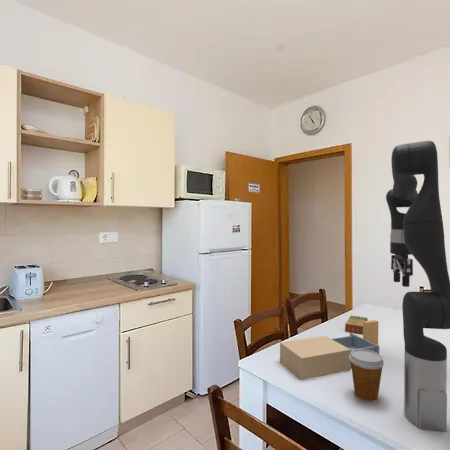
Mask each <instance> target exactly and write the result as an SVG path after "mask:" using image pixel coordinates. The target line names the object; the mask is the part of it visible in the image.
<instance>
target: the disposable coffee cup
mask: <svg viewBox="0 0 450 450" xmlns="http://www.w3.org/2000/svg"><path fill="white" fill-rule="evenodd" d="M349 359H350V361H351V373H352V383H353V390H354V395H355V396H356V397H357V398H358V399H361V400H362V401H367V402H374V401H377V400H378V399H379V392H380V385H381V379H382V372H383V368H384V365H385V361H384V359H383V356H382V355H381V354H380V353H379V354H378V353H376V352H373V351H370V350H364V349H357V350H353V351H351V354H350V355H349Z"/></svg>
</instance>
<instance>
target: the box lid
mask: <svg viewBox="0 0 450 450" xmlns="http://www.w3.org/2000/svg"><path fill="white" fill-rule="evenodd" d="M332 339H333V338H330V337H328V336H326V335H321V336H313V337H306V338H300V339H293V340H287V341H286V340H285V341H280V342H279V362H281V364H283V365H284V367H286V368H287V369H288V370H290V371H291V372H292V373H293V374H295V375H296V376H297V377H298V378H300V380H308V379H311V378H312V379H313V378H317V377H321V376H326V375H331V374H334V373H336V374H337V373H341V372H345V371H350V370H351V371H352V367H351V361H350V359H349V355H350V354H351V350H350V349H349V348H347V347H345V346H343V345H341V344H339V343H337V342H336V341H334V340H332Z"/></svg>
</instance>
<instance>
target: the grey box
mask: <svg viewBox="0 0 450 450" xmlns="http://www.w3.org/2000/svg"><path fill="white" fill-rule="evenodd" d="M331 339H332V340H334V341H336V342H337V343H339V344H341V345H343V346H345V347H347V348H349V349H350V350H351V351H353V350H357V349H364V350H370V351H373V352H376V353H378V354H380V345H379V321H378V320H376V319H372V320H368V321H364V322H363V335H362V337H361V336H359V335H358V334H355V333H350V332H349V335H347V336H341V337H334V338H331Z"/></svg>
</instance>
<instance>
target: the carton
mask: <svg viewBox="0 0 450 450" xmlns="http://www.w3.org/2000/svg"><path fill="white" fill-rule="evenodd" d="M364 321H369V320H368V317H363V316H357V315H350V316H349V318H348V319H347V321H346V323H344V324H345V327H344V329H345V333H349V334H350V333H353V334H355V335H361V336H363V322H364Z"/></svg>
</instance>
